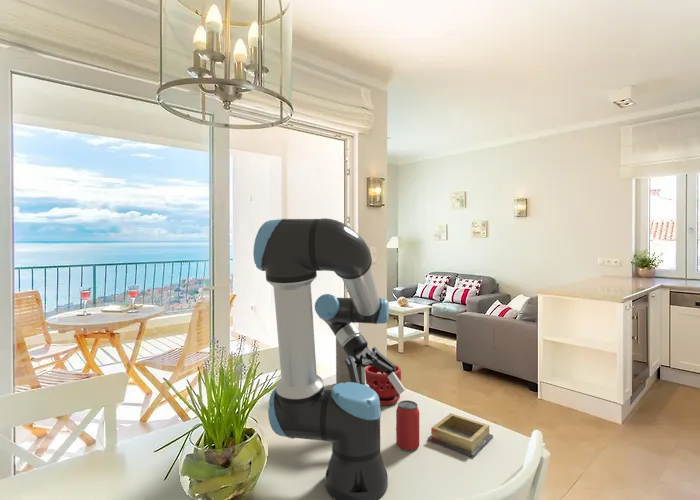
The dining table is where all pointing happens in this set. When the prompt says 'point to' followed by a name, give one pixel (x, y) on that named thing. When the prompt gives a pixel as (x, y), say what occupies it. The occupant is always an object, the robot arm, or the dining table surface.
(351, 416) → the robot arm
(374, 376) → the plant pot
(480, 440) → the frame
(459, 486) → the dining table surface
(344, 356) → the thermos bottle
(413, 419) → the beer can
